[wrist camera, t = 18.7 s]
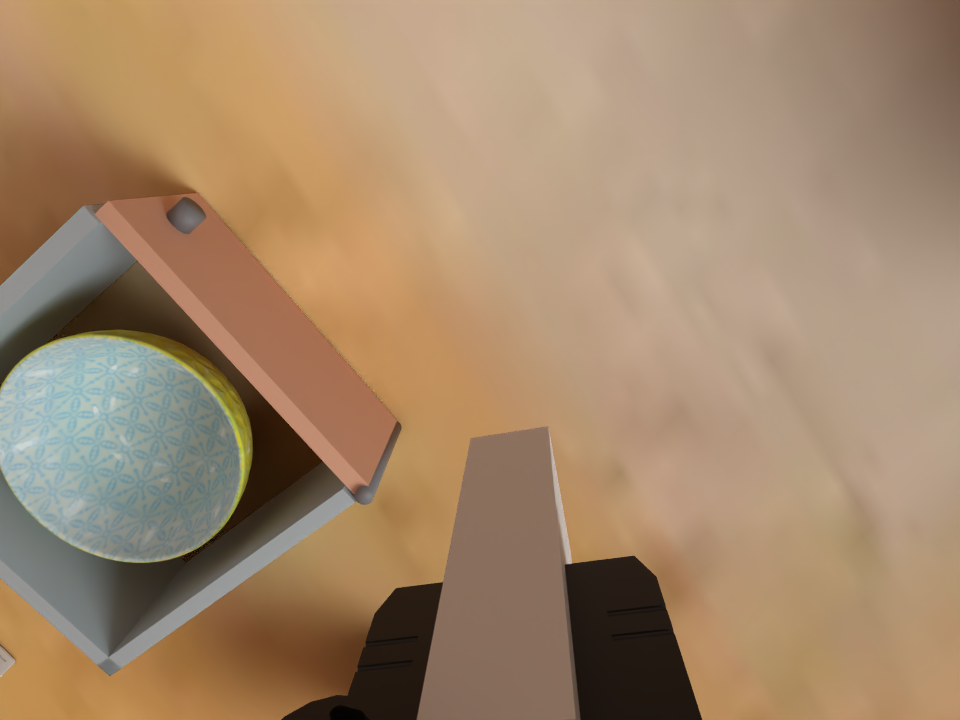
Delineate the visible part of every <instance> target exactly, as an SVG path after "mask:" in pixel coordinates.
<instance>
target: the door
mask: <svg viewBox="0 0 960 720" xmlns="http://www.w3.org/2000/svg"><path fill="white" fill-rule="evenodd" d="M95 215H96V216H97V217H98V219H99V220H100V221H101V222H102V223H103V224H104V225H105V226H106V227H107V228H108V229H109V230H110V232H111V233H112V234H113V235H114V236H115V237H116V238H117V239H118V240H119V241H120V242H121V243H122V245H123V246H124V247H125V248H126V249H127V250H128V251H129V252H130V253H131V254H132V255H133V256H134V257H135V259H136V260H137V261H138V262H139V263H140V264H141V265H142V266H143V267H144V268H145V269H146V270H147V272H148V273H149V274H150V275H151V276H152V277H153V278H154V279H155V280H156V281H157V282H158V283H159V284H160V286H161V287H162V288H163V289H164V290H165V291H166V292H167V293H168V294H169V295H170V296H171V297H172V299H173V300H174V301H175V302H176V303H177V304H178V305H179V306H180V307H181V308H182V309H183V310H184V312H185V313H186V314H187V315H188V316H189V317H190V318H191V319H192V320H193V321H194V322H195V323H196V324H197V326H198V327H199V328H200V329H201V330H202V331H203V332H204V333H205V334H206V335H207V336H208V337H209V339H210V340H211V341H212V342H213V343H214V344H215V345H216V346H217V347H218V348H219V349H220V350H221V351H222V353H223V354H224V355H225V356H226V357H227V358H228V359H229V360H230V361H231V362H232V363H233V364H234V366H235V367H236V368H237V369H238V370H239V371H240V372H241V373H242V374H243V375H244V376H245V377H246V379H247V380H248V381H249V382H250V383H251V384H252V385H253V386H254V387H255V388H256V389H257V390H258V391H259V393H260V394H261V395H262V396H263V397H264V398H265V399H266V400H267V401H268V402H269V403H270V404H271V406H272V407H273V408H274V409H275V410H276V411H277V412H278V413H279V414H280V415H281V416H282V417H283V418H284V420H285V421H286V422H287V423H288V424H289V425H290V426H291V427H292V428H293V429H294V430H295V431H296V433H297V434H298V435H299V436H300V437H301V438H302V439H303V440H304V441H305V442H306V443H307V444H308V446H309V447H310V448H311V449H312V450H313V451H314V452H315V453H316V454H317V455H318V456H319V457H320V458H321V460H322V461H323V462H324V463H325V464H326V465H327V466H328V467H329V468H330V469H331V470H332V471H333V473H334V474H335V475H336V476H337V477H338V478H339V479H340V480H341V481H342V482H343V483H344V484H345V485H346V487H347V488H348V489H349V490H350V491H351V492H352V493H353V494H354V495H355V499H356V501H357V502H358V503H360V504H363V505H366V504H369V503H371V502H372V500H373V498H374V495H375V493H376V490H377V488H378V485H379V483H380V480H381V478H382V475H383V473H384V470H385V468H386V465H387V463H388V461H389V458H390V456H391V453H392V451H393V448H394V446H395V443H396V441H397V438H398V436H399V433H400V431H401V424H400V423H399V422H398V421H397V420H396V418H395V417H394V416H393V415H392V414H391V413H390V412H389V410H388V409H387V408H386V407H385V406H384V405H383V404H382V402H381V401H380V400H379V399H378V398H377V397H376V396H375V394H374V393H373V392H372V391H371V390H370V389H369V388H368V386H367V385H366V384H365V383H364V382H363V381H362V380H361V378H360V377H359V376H358V375H357V374H356V373H355V372H354V370H353V369H352V368H351V367H350V366H349V365H348V364H347V362H346V361H345V360H344V359H343V358H342V357H341V356H340V355H339V353H338V352H337V351H336V350H335V349H334V348H333V347H332V345H331V344H330V343H329V342H328V341H327V340H326V339H325V337H324V336H323V335H322V334H321V333H320V332H319V331H318V329H317V328H316V327H315V326H314V325H313V324H312V323H311V321H310V320H309V319H308V318H307V317H306V316H305V315H304V313H303V312H302V311H301V310H300V309H299V308H298V307H297V305H296V304H295V303H294V302H293V301H292V300H291V299H290V297H289V296H288V295H287V294H286V293H285V292H284V291H283V289H282V288H281V287H280V286H279V285H278V284H277V283H276V281H275V280H274V279H273V278H272V277H271V276H270V275H269V273H268V272H267V271H266V270H265V269H264V268H263V267H262V265H261V264H260V263H259V262H258V261H257V260H256V259H255V257H254V256H253V255H252V254H251V253H250V252H249V251H248V249H247V248H246V247H245V246H244V245H243V244H242V243H241V241H240V240H239V239H238V238H237V237H236V236H235V235H234V233H233V232H232V231H231V230H230V229H229V228H228V227H227V225H226V224H225V223H224V222H223V221H222V220H221V219H220V217H219V216H218V215H217V214H216V213H215V212H214V211H213V209H212V208H211V207H210V206H209V205H208V204H207V203H206V201H205V200H204V199H203V198H202V197H201V196H200V195H199V193H190V194H179V195H168V196H156V197H145V198H134V199H122V200H111V201H107V202H106V203H105V204H104V205H103V206H102V207H101V208H100V209H99V210H98V211H97V212H96V213H95Z"/></svg>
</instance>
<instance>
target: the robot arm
mask: <svg viewBox="0 0 960 720" xmlns="http://www.w3.org/2000/svg"><path fill="white" fill-rule="evenodd" d="M281 720H702V718H701V715H700V712H699V708H698V705H697V702H696V699H695V696H694V693H693V690H692V687H691V683H690V680H689V677H688V674H687V671H686V668H685V665H684V662H683V658H682V655H681V652H680V649H679V646H678V643H677V640H676V637H675V634H674V632H673V627H672V624H671V621H670V618H669V615H668V612H667V610H666V606H665V602H664V599H663V596H662V593H661V590H660V587H659V584H658V580H657V577H656V576H655V575H654V574H653V573H652V572H651V571H650V570H649V569H648V568H647V567H645V566H644V565H643V564H642V563H641V562H640V561H639V560H638V559H637V558H636V557H635V556H629V557H621V558H613V559H605V560H597V561H589V562H581V563H573V564H572V560H571V552H570V546H569V540H568V534H567V529H566V523H565V518H564V512H563V506H562V501H561V495H560V489H559V484H558V478H557V472H556V467H555V461H554V455H553V450H552V444H551V439H550V433H549V427H548V426H547V427H541V428H534V429H528V430H521V431H515V432H508V433H501V434H495V435H488V436H482V437H475V438H471V440H470V445H469V450H468V456H467V461H466V466H465V471H464V476H463V482H462V487H461V492H460V497H459V502H458V508H457V513H456V518H455V523H454V528H453V534H452V539H451V544H450V549H449V554H448V560H447V565H446V570H445V575H444V580H443V582H442V583H434V584H426V585H418V586H410V587H402V588H396V589H395V590H394V591H393V592H392V594H391V595H390V596H389V597H388V598H387V600H386V601H385V602H384V603H383V604H382V606H381V607H380V608H379V609H378V610H377V612H376V613H375V615H374V618H373V621H372V624H371V627H370V630H369V633H368V636H367V639H366V647H364V648H363V651H362V654H361V657H360V660H359V663H358V672H355V675H354V678H353V681H352V684H351V687H350V690H349V693H348V696H342V695H336V696H332V697H328V698H324V699H320V700H317V701H313V702H310V703H308V704H306V705H305V706H303V707H301V708H299V709H297V710H296V711H294V712H292V713H290V714H288V715H287V716H285V717H284V718H283V719H281Z"/></svg>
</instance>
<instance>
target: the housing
mask: <svg viewBox="0 0 960 720" xmlns="http://www.w3.org/2000/svg"><path fill="white" fill-rule="evenodd" d="M103 205H104V204H97V205H86V206H82V207H81V208H80V209H79V210H78V211H77V212H76V213H75V214H74V215H73V216H72V217H71V218H70V219H69V220H68V221H67V222H66V223H65V224H64V225H63V226H62V227H61V228H60V229H59V230H57V231H56V232H55V233H54V234H53V235H52V236H51V237H50V238H49V239H48V240H47V241H46V242H45V243H44V244H43V245H42V246H41V247H40V248H39V249H38V250H37V251H36V252H35V253H34V254H33V255H32V256H30V257H29V258H28V259H27V260H26V261H25V262H24V263H23V264H22V265H21V266H20V267H19V268H18V269H17V270H16V271H15V272H14V273H13V274H12V275H11V276H10V277H9V278H8V279H7V280H6V281H4V282H3V283H2V284H1V285H0V388H1V385H2V383H3V382H4V380H5V378H6V377H7V375H8V374H9V373H10V371H11V370H12V369H13V368H14V367H15V365H16V364H18V363H19V362H20V361H21V360H22V359H23V358H24V357H25V356H27V355H28V354H29V353H30V352H32V351H34V350H35V349H37V348H39V347H41V346H43V345H45V344H46V343H47V342H48V341H49V340H51V339H52V338H53V337H54V336H55V335H56V334H57V333H58V332H59V331H60V330H62V329H63V328H64V327H65V326H66V325H67V324H68V323H69V322H70V321H71V320H73V319H74V318H75V317H76V316H77V315H78V314H79V313H80V312H81V311H82V310H84V309H85V308H86V307H87V306H88V305H89V304H90V303H91V302H92V301H93V300H95V299H96V298H97V297H98V296H99V295H100V294H101V293H102V292H103V291H104V290H106V289H107V288H108V287H109V286H110V285H111V284H112V283H113V282H114V281H116V280H117V279H118V278H119V277H120V276H121V275H122V274H123V273H124V272H125V271H127V270H128V269H129V268H130V267H131V266H132V265H133V264H134V263H135V262H136V261H137V260H136V259H135V257H134V256H133V255H132V254H131V253H130V252H129V251H128V250H127V249H126V248H125V247H124V246H123V245H122V243H121V242H120V241H119V240H118V239H117V238H116V237H115V236H114V235H113V234H112V233H111V232H110V230H109V229H108V228H107V227H106V226H105V225H104V224H103V223H102V222H101V221H100V220H99V219H98V217H97V216H96V215H95V213H96V212H97V211H98V210H99V209H100V208H101V207H102V206H103ZM355 502H356V499H355V495H354V494H353V493H352V492H351V491H350V490H349V489H348V488H347V487H346V485H345V484H344V483H343V482H342V481H341V480H340V479H339V478H338V477H337V476H336V475H335V474H334V473H333V471H332V470H331V469H330V468H329V467H328V466H327V465H326V464H325V463H324V462H323V461H322V462H321V463H320V464H318V465H317V466H316V467H314V468H313V469H312V470H310V471H309V472H307V473H306V474H305V475H303V476H302V477H301V478H299V479H298V480H297V481H295V482H294V483H293V484H291V485H290V486H289V487H287V488H286V489H284V490H283V491H282V492H280V493H279V494H278V495H276V496H275V497H274V498H272V499H271V500H270V501H268V502H267V503H265V504H264V505H263V506H261V507H260V508H259V509H257V510H256V511H255V512H253V513H252V514H251V515H249V516H248V517H247V518H245V519H244V520H242V521H241V522H240V523H238V524H237V525H236V526H234V527H233V528H232V529H230V530H229V531H228V532H226V533H225V534H224V535H222V536H221V537H219V538H218V539H217V540H215V541H214V542H213V543H211V544H210V545H209V546H207V547H206V548H205V549H203V550H202V551H200V552H199V553H198V554H196V555H195V556H194V557H192V558H191V559H190V560H188V561H187V562H185V561H184V560H183V559H182V558H181V557H180V556H179V557H176V558H172V559H169V560H164V561H158V562H149V563H132V562H122V561H115V560H111V559H106V558H103V557H99V556H96V555H94V554H90V553H88V552H85V551H83V550H81V549H78V548H76V547H75V546H72V545H71V544H69V543H67V542H65V541H63V540H62V539H60V538H59V537H57V536H56V535H54V534H53V533H52V532H51V531H49V530H48V529H46V528H45V527H44V526H43V525H41V524H40V523H39V522H38V521H37V520H36V519H35V518H34V517H33V516H32V515H31V514H30V513H29V512H28V511H27V510H26V509H25V508H24V506H23V505H22V504H21V503H20V502H19V500H18V499H17V498H16V496H15V495H14V493H13V492H12V490H11V489H10V487H9V485H8V483H7V482H6V480H5V478H4V476H3V474H2V471H1V469H0V579H2V580H3V581H4V582H5V583H6V584H7V585H8V586H9V587H11V588H12V589H13V590H14V591H15V592H16V593H17V594H18V595H20V596H21V597H22V598H23V599H24V600H25V601H26V602H27V603H28V604H30V605H31V606H32V607H33V608H34V609H35V610H36V611H37V612H39V613H40V614H41V615H42V616H43V617H44V618H45V619H46V620H48V621H49V622H50V623H51V624H52V625H53V626H54V627H55V628H56V629H58V630H59V631H60V632H61V633H62V634H63V635H64V636H65V637H67V638H68V639H69V640H70V641H71V642H72V643H73V644H74V645H76V646H77V647H78V648H79V649H80V650H81V651H82V652H83V653H84V654H86V655H87V656H88V657H89V658H90V659H91V660H92V661H93V662H95V663H96V664H97V665H98V666H99V667H100V668H101V669H102V670H104V671H105V672H106V673H107V674H108V675H109V676H111V675H112V674H114V673H115V672H117V671H118V670H119V669H121V668H122V667H124V666H125V665H126V664H128V663H129V662H131V661H132V660H134V659H135V658H136V657H138V656H139V655H141V654H142V653H143V652H145V651H146V650H148V649H149V648H150V647H152V646H153V645H155V644H156V643H158V642H159V641H160V640H162V639H163V638H165V637H166V636H167V635H169V634H170V633H172V632H173V631H174V630H176V629H177V628H179V627H180V626H182V625H183V624H184V623H186V622H187V621H189V620H190V619H191V618H193V617H194V616H196V615H197V614H198V613H200V612H201V611H203V610H204V609H205V608H207V607H208V606H210V605H211V604H213V603H214V602H215V601H217V600H218V599H220V598H221V597H222V596H224V595H225V594H227V593H228V592H229V591H231V590H232V589H234V588H235V587H237V586H238V585H239V584H241V583H242V582H244V581H245V580H246V579H248V578H249V577H251V576H252V575H253V574H255V573H256V572H258V571H259V570H261V569H262V568H263V567H265V566H266V565H268V564H269V563H270V562H272V561H273V560H275V559H276V558H277V557H279V556H280V555H282V554H283V553H285V552H286V551H287V550H289V549H290V548H292V547H293V546H294V545H296V544H297V543H299V542H300V541H301V540H303V539H304V538H306V537H307V536H308V535H310V534H311V533H313V532H314V531H316V530H317V529H318V528H320V527H321V526H323V525H324V524H325V523H327V522H328V521H330V520H331V519H332V518H334V517H335V516H337V515H338V514H340V513H341V512H342V511H344V510H345V509H347V508H348V507H349V506H351V505H352V504H354V503H355Z"/></svg>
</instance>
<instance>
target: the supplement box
mask: <svg viewBox="0 0 960 720" xmlns="http://www.w3.org/2000/svg"><path fill="white" fill-rule="evenodd" d="M14 663H15V659H14V658H13V657H12V656H11V655H10V654H9V653H8V652H7V651H6V650H5V649H4V648H3V647H2V646H0V677H1V676H2V675H3V674H4V673H5V672H6V671H7V670H8V669H9V668H10V667H11V666H12V665H13V664H14Z"/></svg>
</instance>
